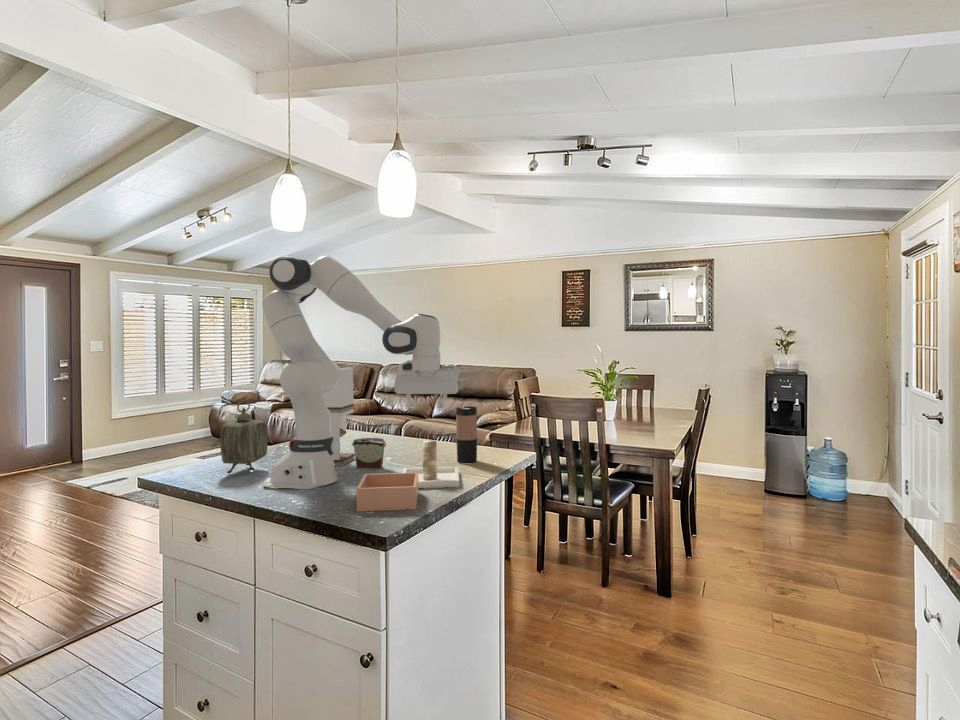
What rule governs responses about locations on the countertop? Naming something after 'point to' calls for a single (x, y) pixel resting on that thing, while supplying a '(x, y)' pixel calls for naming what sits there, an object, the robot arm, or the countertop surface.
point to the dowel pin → (429, 460)
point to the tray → (444, 477)
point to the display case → (340, 412)
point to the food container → (369, 452)
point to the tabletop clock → (243, 440)
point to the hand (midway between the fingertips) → (426, 407)
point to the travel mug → (466, 434)
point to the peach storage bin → (388, 492)
